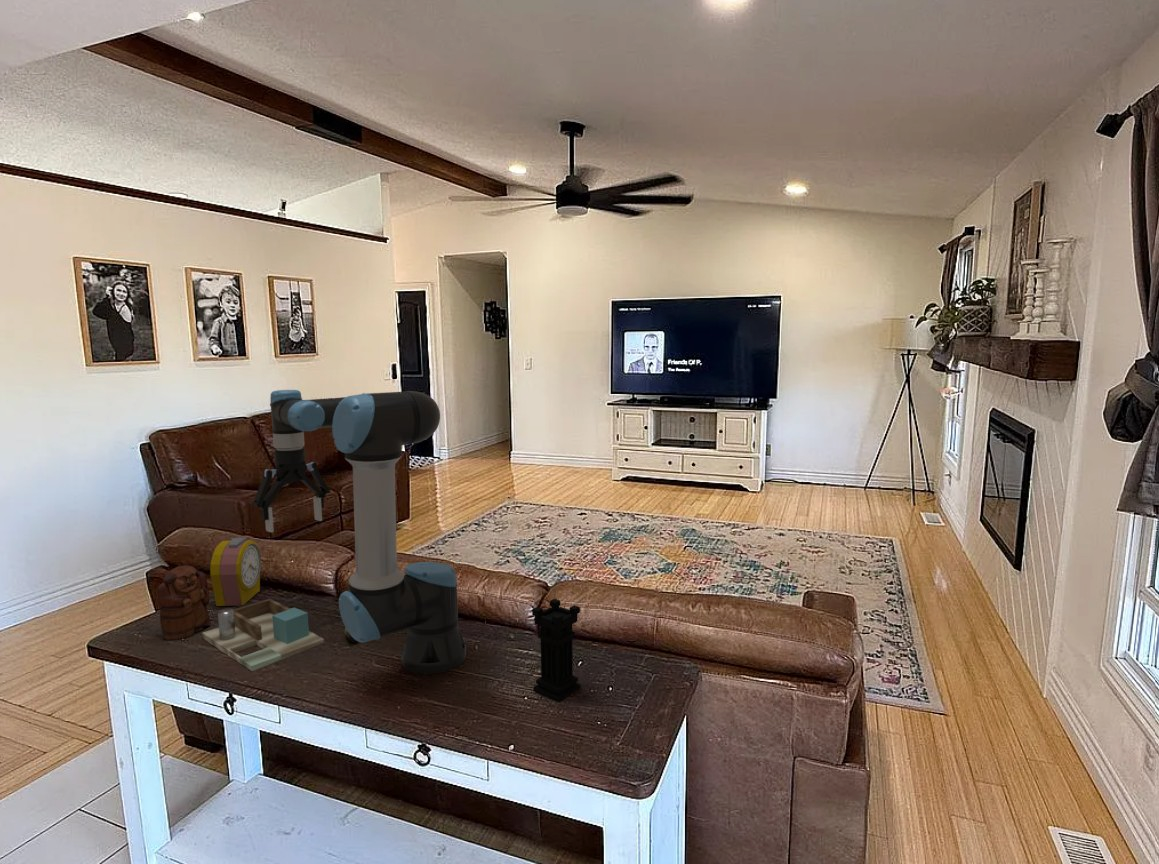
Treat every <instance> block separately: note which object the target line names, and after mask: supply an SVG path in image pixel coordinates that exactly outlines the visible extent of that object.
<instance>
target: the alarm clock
mask: <svg viewBox="0 0 1159 864" xmlns="http://www.w3.org/2000/svg"><path fill="white" fill-rule="evenodd" d="M209 569H210V579H211V584H212V590H213V596H214V600H215V605H216V607H223V606H224V607H228V606H230V607H231V606H233V607H234V606H235V607H237V606H239V607H240V606H244V605H245V604H246V603H247V602H249V601H250V600H251V599H252V598H253V597H255V596H256V594H258V593H259V592H260V591H261V583H260V582H261V569H262V555H261V550H260V548H259V546H258V544H257V542H255V541H254V540H252V539H251V540H250V539H249V540H248V537H233V538H232V539H231V540H223V541H220V543H218V545H216V547H215V549H214V551H213V552H212V557H211V562H210V567H209Z"/></svg>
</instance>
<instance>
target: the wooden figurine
mask: <svg viewBox="0 0 1159 864" xmlns="http://www.w3.org/2000/svg"><path fill="white" fill-rule="evenodd" d="M162 581H163V582H162V583H161V584H160V585H159V586H158V587H157V604H158V605H160V606H161V607H160V610H159V619H160V620H159V621H160V627H161V631H162V634H163V638H164V639H165V640H170V641H171V640H182V639H186V638H189V637H193V635H194V634H198V633H199V632H201V631H203V630H204V629H205V628H206V627H210V626H211V625H212V624H211V620H210V619H211V618H210V614H209V610H208V607H207V605H209V603H210V590H209V588H208V587H209V586H208V580H207V575H206V574H205V572H203V571H200V570H198V569H197V568H196V567H193V566H190V565H180V566H176V567H174V568H172V569H171V570H169V571H168V572H167V573H166V574H165V576H164V577H163V578H162Z"/></svg>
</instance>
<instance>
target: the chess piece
mask: <svg viewBox="0 0 1159 864" xmlns="http://www.w3.org/2000/svg"><path fill="white" fill-rule="evenodd" d="M580 613H581V607H580V606H578V605H575V604H573V605H571V606H569V609H567V608H566V607H562V606H561V599H560V600H559V599H557V598H553V599H551V600H549V607H548V608H545V609H543V608H542V607H539V606H536V607H534V608H532V610H531V615H532V616H534V624H535V625H538V626H540V630H539V631H540V632H539V633H537V638H538V639H540V676H539V677H538V678H537V679H535V684H536V685H534V686H533V692H536V693H538V694H540V695H543V696H544V697H546V698H549V699H551V700H553V701H555V702H557V703H560V702H561V701H563V700H565V699H566V698H567V697H569V696H570V695H572V694H574V693H575V692H577V691H578V690H579V689H581V687H582V685H581V684H580V683H578V681H579V677H578V676H574V672H573V671H574V670H573V663H574V661H573V655H574V654H573V638H574V637H575V636H576V632H575V631H573V625H574V624H575V623H577V622H578V618H579V617H578V614H580Z"/></svg>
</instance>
